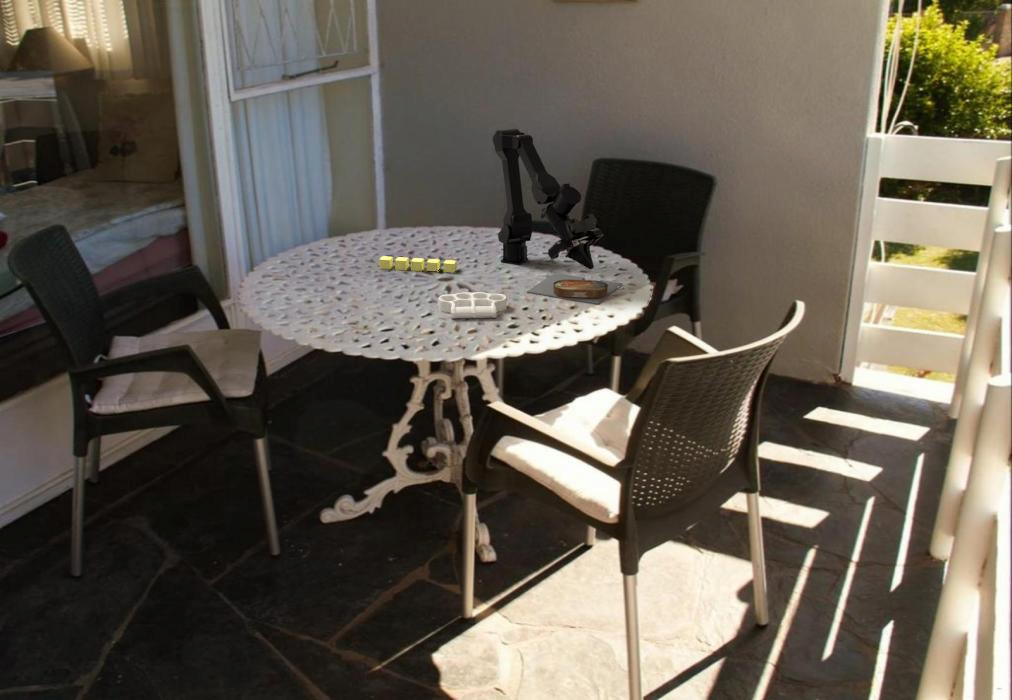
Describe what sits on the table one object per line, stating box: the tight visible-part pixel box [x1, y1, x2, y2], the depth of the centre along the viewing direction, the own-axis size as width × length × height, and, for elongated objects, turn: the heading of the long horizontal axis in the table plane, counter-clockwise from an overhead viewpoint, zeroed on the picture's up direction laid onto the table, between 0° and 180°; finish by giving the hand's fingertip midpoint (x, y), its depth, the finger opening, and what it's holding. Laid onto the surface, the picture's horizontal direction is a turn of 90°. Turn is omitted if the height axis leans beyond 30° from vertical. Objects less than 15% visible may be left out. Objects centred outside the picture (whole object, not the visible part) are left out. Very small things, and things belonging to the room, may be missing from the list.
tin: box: [553, 279, 608, 298], centre depth 277 cm, size 15×3×8 cm
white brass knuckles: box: [438, 291, 508, 320], centre depth 266 cm, size 3×18×15 cm
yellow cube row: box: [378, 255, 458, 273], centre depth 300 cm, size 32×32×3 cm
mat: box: [526, 272, 623, 306], centre depth 283 cm, size 21×19×1 cm
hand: (592, 268), depth 278 cm, fingers closed
